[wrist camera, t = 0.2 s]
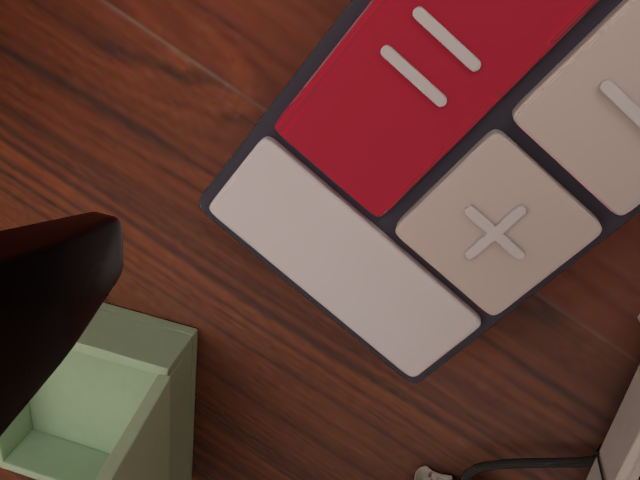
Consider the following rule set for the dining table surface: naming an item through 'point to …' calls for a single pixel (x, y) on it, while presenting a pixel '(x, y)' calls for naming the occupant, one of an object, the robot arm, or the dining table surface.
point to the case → (105, 398)
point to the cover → (144, 440)
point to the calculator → (441, 164)
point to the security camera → (607, 465)
